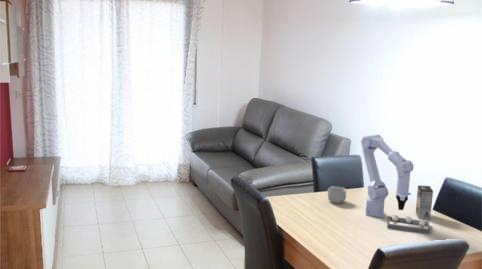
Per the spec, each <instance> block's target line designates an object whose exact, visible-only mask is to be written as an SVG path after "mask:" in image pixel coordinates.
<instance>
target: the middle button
mask: <svg viewBox="0 0 482 269" xmlns="http://www.w3.org/2000/svg"><path fill="white" fill-rule="evenodd" d="M412 219H413V218H412V217H411V216H405V222H406V223H411V222H412Z"/></svg>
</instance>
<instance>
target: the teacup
mask: <svg viewBox="0 0 482 269" xmlns="http://www.w3.org/2000/svg"><path fill="white" fill-rule="evenodd" d="M346 197H347V189H346V188H345V187H341V186H334V185H332V186H330V187H328V188H327V198H328V199H327V200H329V201H330V202H331V203H332V204H335V203H336V204H337V205H338V204H343V203H344V202H345V201H346Z"/></svg>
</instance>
